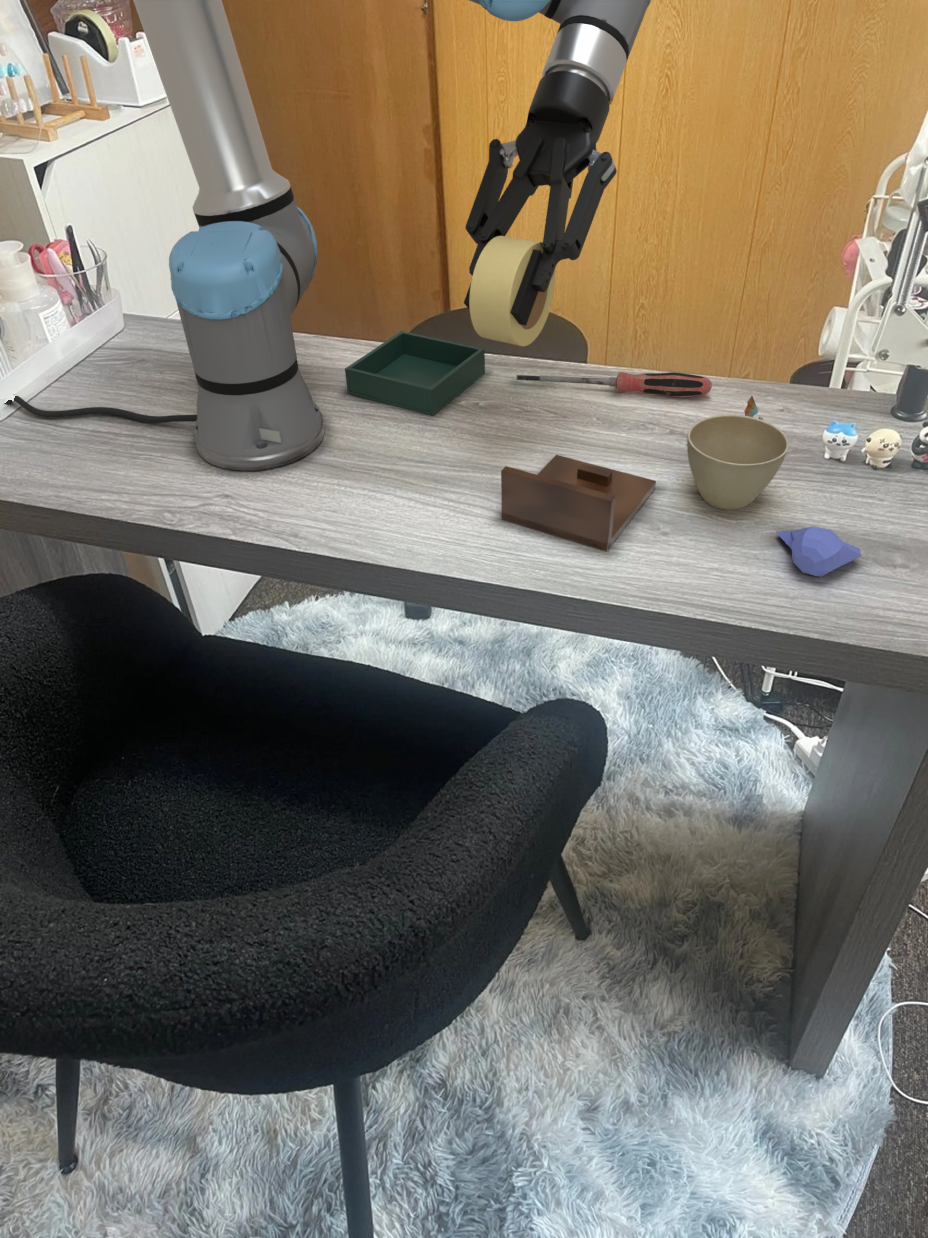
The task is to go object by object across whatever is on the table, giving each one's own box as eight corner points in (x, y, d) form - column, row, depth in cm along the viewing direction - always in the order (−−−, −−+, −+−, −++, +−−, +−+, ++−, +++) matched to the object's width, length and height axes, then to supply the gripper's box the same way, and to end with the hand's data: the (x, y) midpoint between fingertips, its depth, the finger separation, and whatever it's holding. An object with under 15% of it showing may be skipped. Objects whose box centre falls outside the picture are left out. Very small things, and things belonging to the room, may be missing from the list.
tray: (347, 393, 116) (344, 368, 113) (403, 354, 124) (401, 330, 122) (433, 415, 110) (431, 389, 108) (485, 373, 119) (484, 348, 117)
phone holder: (501, 519, 93) (500, 470, 89) (555, 461, 101) (557, 414, 97) (607, 551, 88) (611, 500, 84) (655, 488, 96) (661, 439, 92)
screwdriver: (514, 372, 114) (518, 361, 116) (514, 393, 116) (519, 381, 118) (712, 382, 108) (713, 369, 110) (710, 403, 110) (710, 390, 112)
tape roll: (470, 352, 91) (467, 253, 84) (516, 317, 97) (517, 222, 91) (509, 361, 89) (509, 260, 83) (553, 325, 96) (557, 228, 89)
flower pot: (666, 510, 93) (674, 450, 88) (694, 464, 100) (703, 406, 95) (762, 533, 89) (776, 472, 85) (784, 484, 96) (798, 425, 91)
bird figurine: (842, 593, 81) (875, 555, 84) (818, 539, 79) (852, 503, 82) (770, 596, 88) (803, 561, 91) (746, 547, 86) (780, 513, 89)
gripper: (666, 124, 88) (585, 346, 88) (510, 109, 95) (435, 314, 95) (652, 72, 81) (563, 313, 81) (485, 60, 88) (404, 281, 88)
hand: (495, 313), depth 88 cm, fingers closed on tape roll, 5 cm apart
